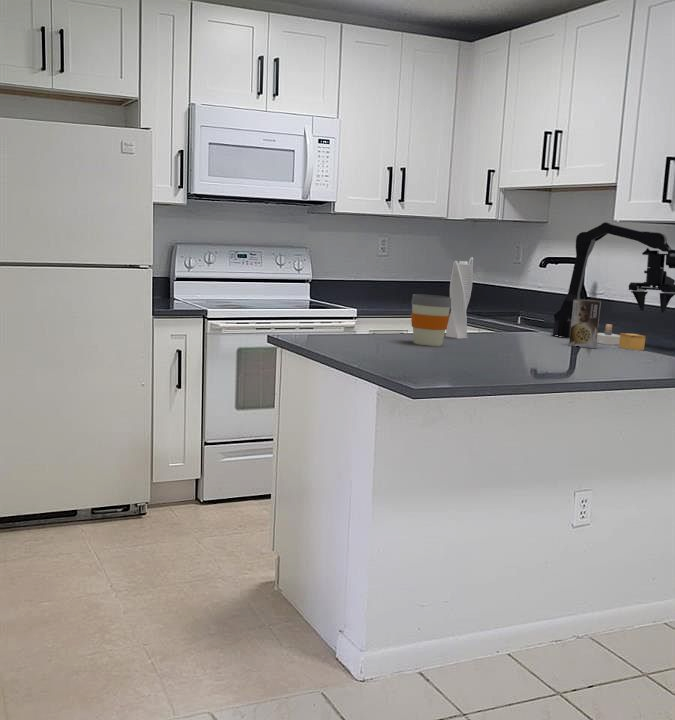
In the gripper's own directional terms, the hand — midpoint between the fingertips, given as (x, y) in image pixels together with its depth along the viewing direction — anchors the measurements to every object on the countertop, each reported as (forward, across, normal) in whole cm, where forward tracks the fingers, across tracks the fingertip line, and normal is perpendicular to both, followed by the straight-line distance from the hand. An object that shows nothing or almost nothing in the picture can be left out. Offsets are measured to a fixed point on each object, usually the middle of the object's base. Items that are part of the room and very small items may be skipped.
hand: (652, 311), depth 307 cm
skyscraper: (+11, +22, +70) cm, 74 cm away
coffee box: (+12, +2, +31) cm, 33 cm away
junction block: (+12, +12, +9) cm, 19 cm away
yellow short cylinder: (+13, -3, +12) cm, 18 cm away
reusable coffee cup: (+10, +7, +93) cm, 94 cm away
